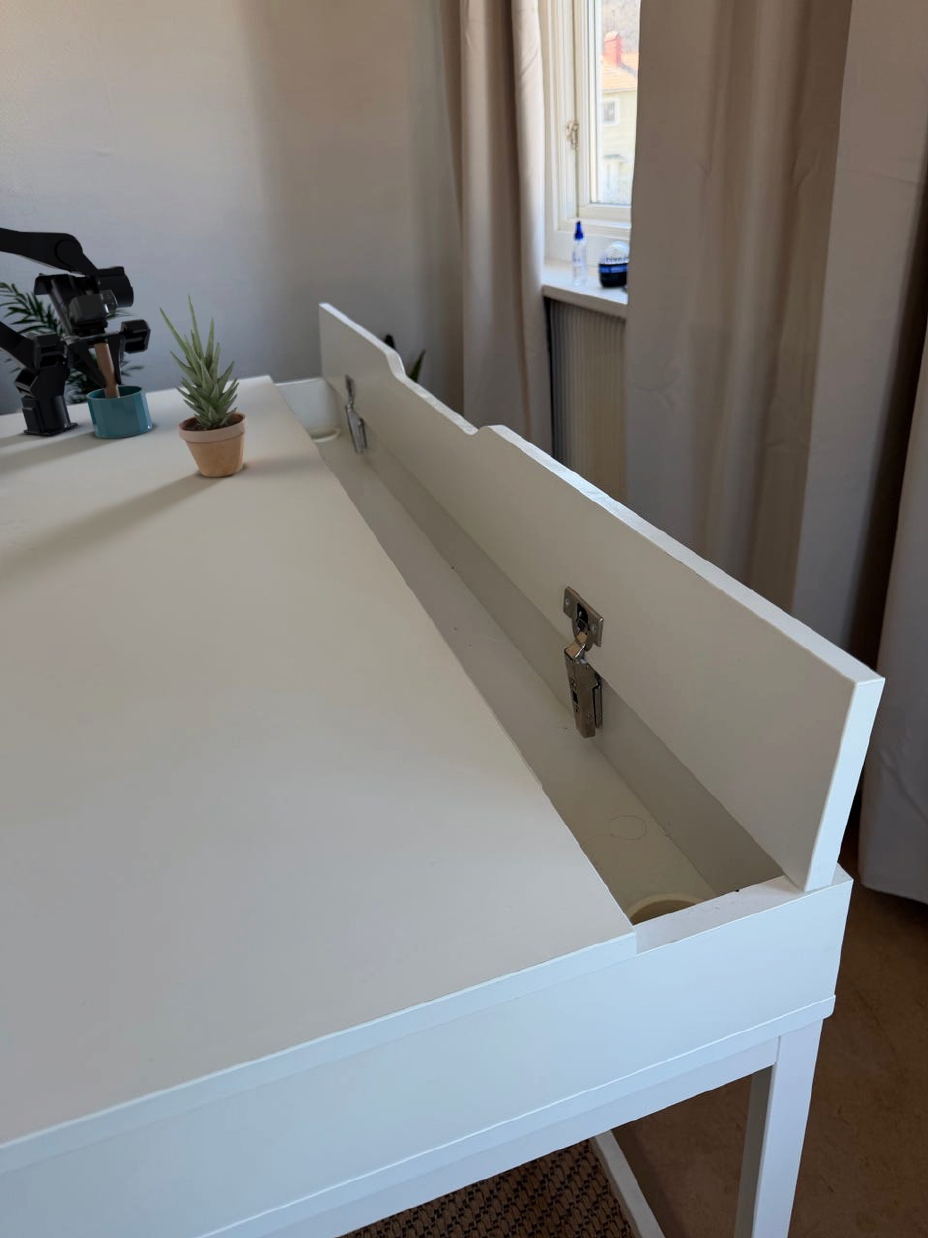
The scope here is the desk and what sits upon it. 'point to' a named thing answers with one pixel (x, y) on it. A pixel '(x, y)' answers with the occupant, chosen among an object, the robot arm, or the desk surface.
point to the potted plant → (209, 406)
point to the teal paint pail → (119, 412)
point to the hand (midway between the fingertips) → (112, 385)
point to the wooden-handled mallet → (107, 370)
